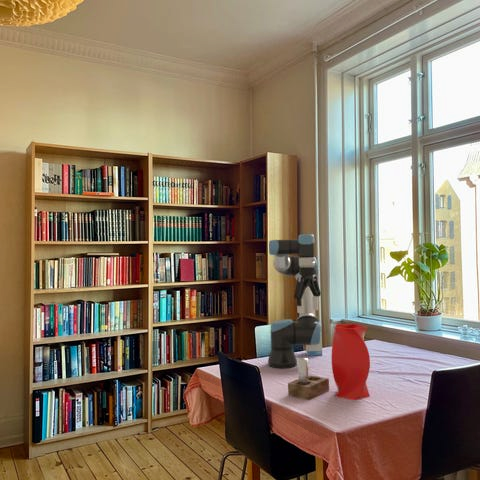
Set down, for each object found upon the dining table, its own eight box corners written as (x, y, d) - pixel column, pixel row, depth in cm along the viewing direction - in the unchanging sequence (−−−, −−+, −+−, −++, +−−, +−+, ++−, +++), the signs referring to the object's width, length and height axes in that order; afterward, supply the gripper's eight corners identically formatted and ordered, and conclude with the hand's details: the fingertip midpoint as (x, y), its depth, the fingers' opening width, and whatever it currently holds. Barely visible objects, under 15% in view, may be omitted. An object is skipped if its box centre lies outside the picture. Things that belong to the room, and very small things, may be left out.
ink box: (322, 355, 263) (321, 332, 263) (307, 355, 263) (307, 332, 263) (320, 352, 271) (319, 329, 272) (305, 352, 271) (305, 329, 272)
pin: (296, 393, 189) (296, 358, 190) (302, 390, 192) (301, 356, 193) (305, 394, 187) (304, 360, 187) (310, 392, 190) (309, 358, 190)
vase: (345, 401, 180) (343, 329, 181) (324, 392, 193) (323, 324, 194) (376, 396, 186) (374, 326, 187) (354, 387, 199) (352, 322, 200)
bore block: (288, 395, 190) (287, 383, 190) (308, 386, 202) (308, 374, 202) (309, 399, 183) (308, 387, 183) (329, 390, 196) (328, 378, 196)
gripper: (299, 267, 208) (300, 314, 207) (327, 265, 227) (328, 309, 226) (285, 267, 212) (286, 313, 212) (313, 265, 232) (314, 308, 231)
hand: (308, 311), depth 219 cm, fingers open, 13 cm apart
